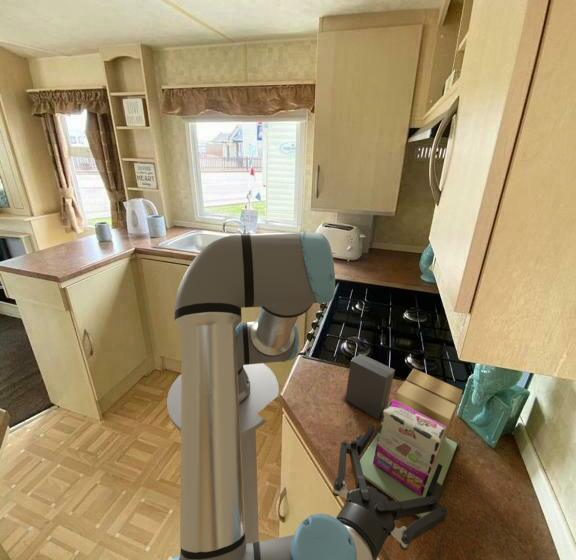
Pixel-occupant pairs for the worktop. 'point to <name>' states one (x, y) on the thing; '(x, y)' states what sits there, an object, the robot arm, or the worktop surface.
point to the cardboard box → (430, 399)
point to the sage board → (394, 486)
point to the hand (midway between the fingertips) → (404, 448)
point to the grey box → (369, 385)
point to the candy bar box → (408, 445)
